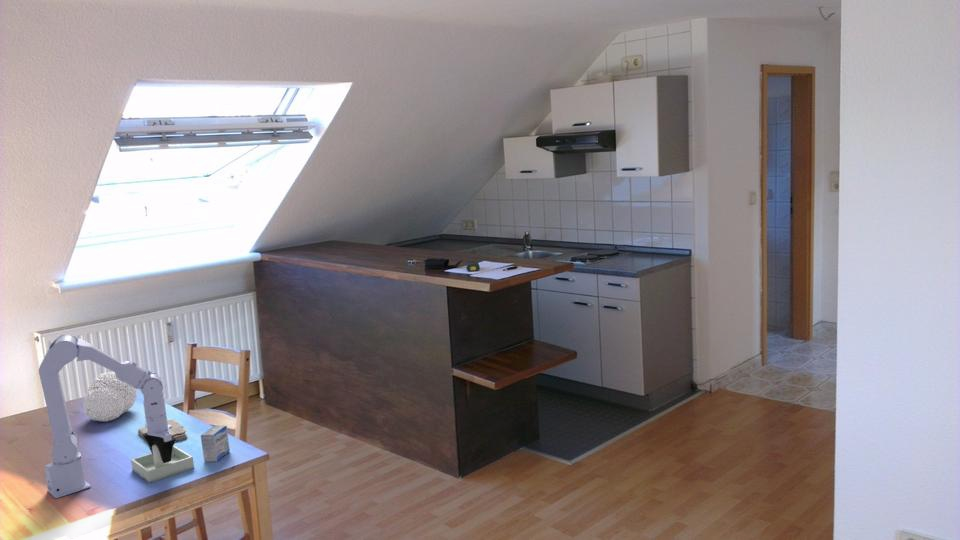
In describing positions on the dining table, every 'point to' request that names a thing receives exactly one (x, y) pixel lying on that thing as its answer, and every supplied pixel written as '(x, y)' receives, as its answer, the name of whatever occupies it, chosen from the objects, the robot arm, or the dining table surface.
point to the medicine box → (215, 443)
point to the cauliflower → (108, 397)
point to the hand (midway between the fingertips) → (161, 458)
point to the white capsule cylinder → (157, 457)
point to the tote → (150, 473)
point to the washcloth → (170, 430)
